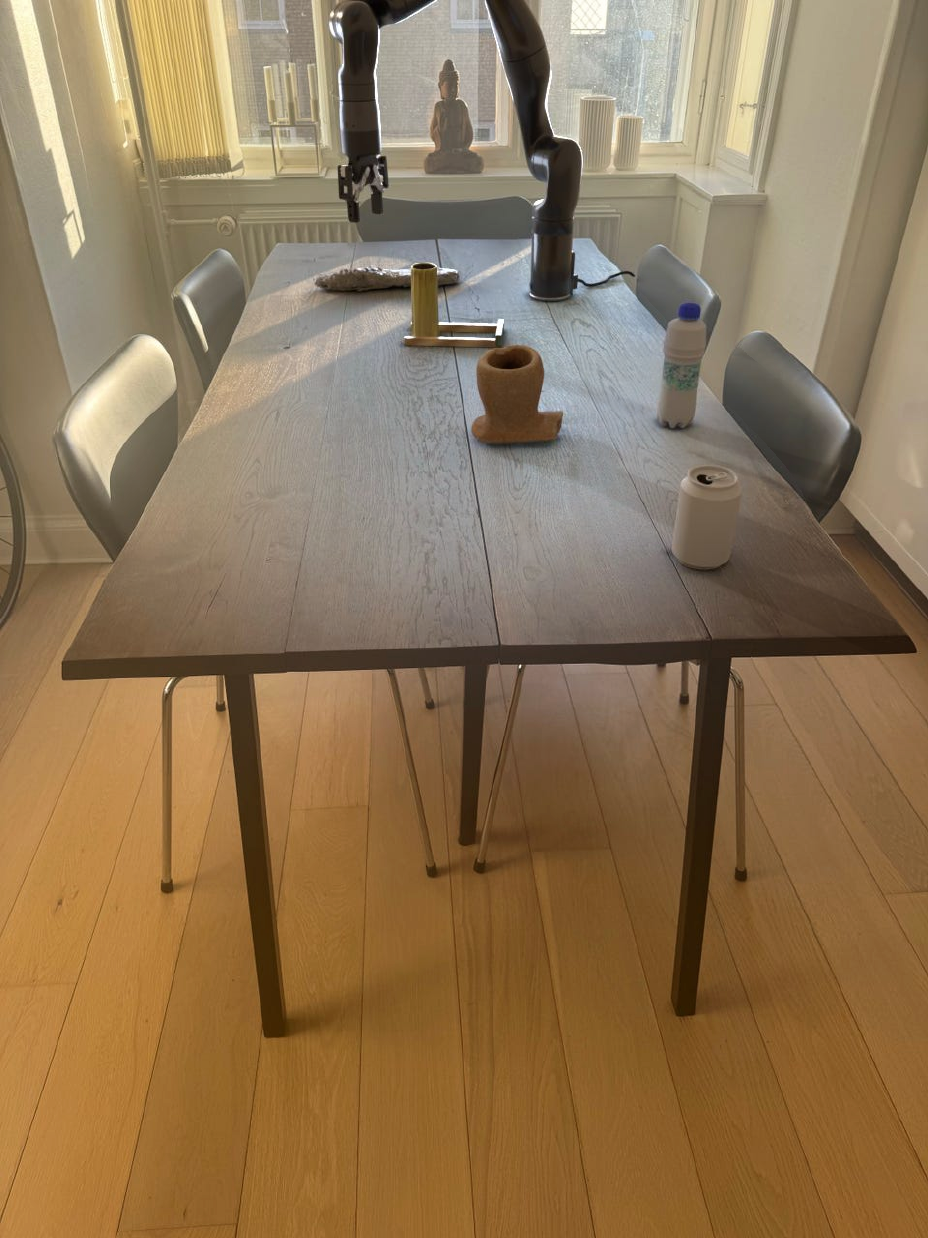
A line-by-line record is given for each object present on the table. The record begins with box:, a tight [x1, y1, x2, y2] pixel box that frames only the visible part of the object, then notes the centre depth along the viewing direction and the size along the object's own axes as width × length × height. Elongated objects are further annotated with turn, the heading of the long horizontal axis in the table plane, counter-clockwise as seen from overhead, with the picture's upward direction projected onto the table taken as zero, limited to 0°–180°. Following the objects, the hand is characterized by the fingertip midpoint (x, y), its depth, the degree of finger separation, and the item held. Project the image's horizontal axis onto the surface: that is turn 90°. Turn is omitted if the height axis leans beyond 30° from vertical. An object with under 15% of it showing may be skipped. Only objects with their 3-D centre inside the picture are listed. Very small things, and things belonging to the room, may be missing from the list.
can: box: [670, 464, 743, 571], centre depth 120 cm, size 8×8×12 cm
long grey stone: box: [313, 265, 461, 292], centre depth 226 cm, size 35×5×10 cm
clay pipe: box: [470, 344, 564, 445], centre depth 150 cm, size 15×12×15 cm
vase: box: [410, 262, 441, 337], centre depth 192 cm, size 6×6×14 cm
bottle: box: [656, 301, 707, 429], centre depth 154 cm, size 7×7×20 cm
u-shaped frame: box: [403, 318, 505, 349], centre depth 195 cm, size 20×10×2 cm, turn 85°
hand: (366, 217), depth 188 cm, fingers open, 8 cm apart
